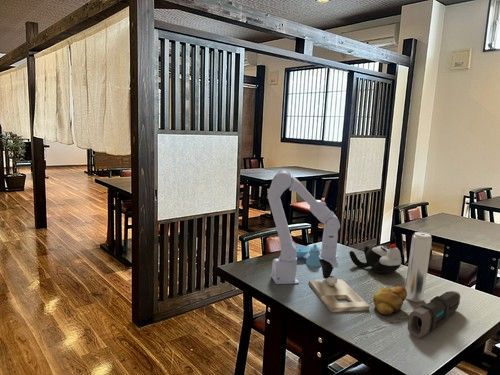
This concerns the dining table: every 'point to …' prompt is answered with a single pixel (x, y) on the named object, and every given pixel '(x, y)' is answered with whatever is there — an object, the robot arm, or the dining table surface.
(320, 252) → the robot arm
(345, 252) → the dining table surface
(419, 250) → the silver cylinder
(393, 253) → the toy
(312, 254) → the light blue lumpy shape
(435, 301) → the tube
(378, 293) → the bread roll
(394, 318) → the dining table surface
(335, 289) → the ash board
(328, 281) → the steel ball
